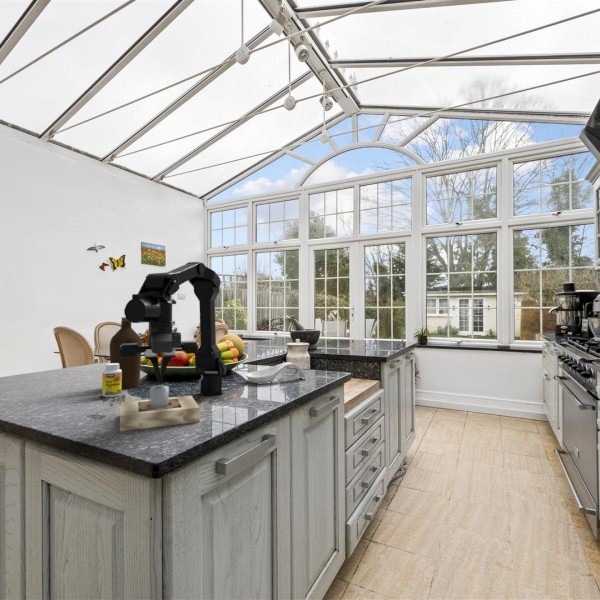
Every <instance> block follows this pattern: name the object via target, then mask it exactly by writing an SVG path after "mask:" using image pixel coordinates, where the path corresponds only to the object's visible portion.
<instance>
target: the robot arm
mask: <svg viewBox="0 0 600 600" xmlns="http://www.w3.org/2000/svg"><path fill="white" fill-rule="evenodd" d="M186 282H189V284H190V285H191V286H192V288H193V294H194V295H195V296H196V298H197V300H198V301H199V302H198V303H199V332H200V334H199V335H200V346H199V343H197V342H196V341H194V340H191V341H190V340H188V341H186V340H185V341H182V333H181V332H180V331H179V332H178V331H177V332H173V305H176V304H177V300H175V299H174V298H173V295H175V294H176V292H178V291H179V290H180V286H181V285H182V284H185V283H186ZM221 284H222V283H221V278H220V276H219V275H218V274H217V273H216V271H215V270H213V269H211V268H210V267H207V266H206V264H204V263H203V262H201V261H189V262H186V263H185V264H184V265H182V266H179V267H176V268H174V269H172V270H169V271H166V272H154V273H153V272H151V273H148V274H147V275H146V276H145V279H144V281H143V283H142V285H141V286H140V289H139V291H138V293H132V294H131V299H130V300H129V301H128V302H127V303H126V305H125V308H124V310H123V311H124V317H126V318H127V320H128V321H130V322H131V324H132V323H133V324H139V323H140V324H141V323H144V324H145V323H148V341H147V343H148V345H142V346H138V344H137V343H123V344H122V345H121V346H120V357H128V356H135V355H136V354H137V353H141V354H144V358H145V359H146V360H149V361H150V363H151V365H152V367H153V370H154V373H155V376H156V377H155V378H156V379H157V382H158V383H162V382H163V379H164V376H165V373H166V371H167V367H168V365H169V363H170V362H171V360H172V359H175V358H176V357H177V355H176V353H177V352H184V353H185V354H187V355H188V354H189V355H190V354H194V366H195V373H196V376H201V377H200V379H199V380H198V381H199V382H198V384H199V385H198V386H199V388H198V389H199V392H200V394H201V395H202V396H203V397H204V396H214V395H215V396H216V395H222V394H224V392H223V391H222V389H223V388H222V383H223V381H222V380H223V379H222V378H223V377H222V376H226V374H227V365H226V364H225V362H224V360H223V357H222V351H221V350H220V348H219V347H218V344H217V341H216V339H217V338H216V336H217V335H216V307H215V306H216V299H217V297H218V296H219V294H220V289H221ZM159 353H162V354H161V360H160V361H161V362H160V367H159V356H158V354H159Z"/></svg>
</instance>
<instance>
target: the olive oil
mask: <svg viewBox="0 0 600 600" xmlns="http://www.w3.org/2000/svg"><path fill="white" fill-rule="evenodd" d="M120 324H121V325H120V329H118V331H117V332H115V334H114V335H113V336H112V337H111V338H110V342H109V364H110V363H119V369H121V370H122V385H121V390H130V389H129V388H131V389H134V388H138V387H140V385H141V384H140V382H141V364H142V353H137V354H136V355H135V356H128V357H120V346H121V345H122V344H123V343H137V344H138V346H143V342H142V338H141V336H140V335H139V334H138V333H137V332H136V331H135V330H134V329H133V328H132V322H130V321H128V320H127V318H126V317H125V316H124V317H121V323H120Z"/></svg>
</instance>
